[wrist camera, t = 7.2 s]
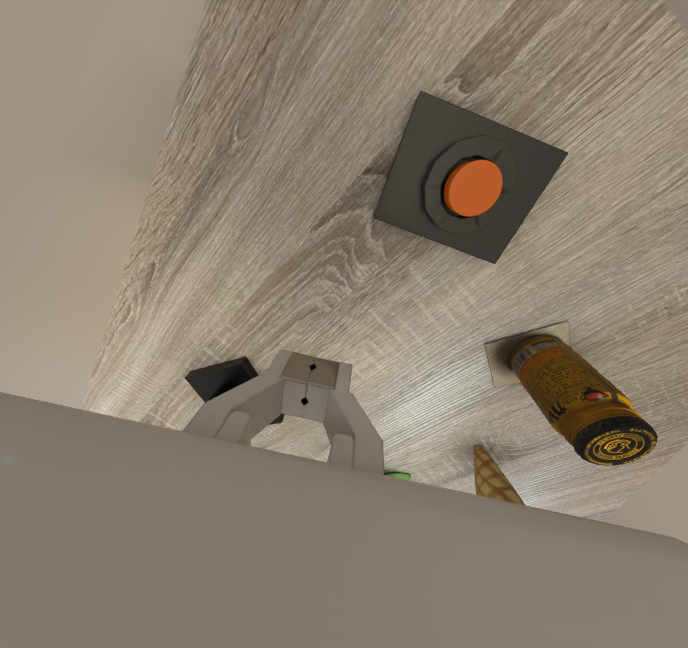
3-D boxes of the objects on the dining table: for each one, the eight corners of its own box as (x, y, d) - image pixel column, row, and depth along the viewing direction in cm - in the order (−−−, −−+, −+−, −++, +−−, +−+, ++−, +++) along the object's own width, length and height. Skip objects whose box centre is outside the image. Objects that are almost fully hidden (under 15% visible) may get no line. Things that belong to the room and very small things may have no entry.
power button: (434, 204, 20) (439, 206, 19) (459, 153, 19) (466, 151, 17) (475, 220, 21) (483, 223, 19) (503, 171, 19) (514, 170, 17)
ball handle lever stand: (190, 371, 38) (113, 450, 27) (245, 356, 35) (186, 437, 24) (233, 424, 43) (183, 509, 32) (284, 415, 40) (249, 504, 29)
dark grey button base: (373, 214, 25) (373, 220, 21) (416, 98, 20) (424, 82, 17) (486, 257, 25) (503, 270, 22) (551, 155, 21) (585, 150, 17)
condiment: (570, 369, 31) (669, 467, 20) (494, 386, 33) (547, 481, 23) (567, 320, 28) (680, 404, 17) (483, 342, 30) (539, 429, 20)
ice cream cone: (449, 457, 41) (482, 586, 28) (458, 431, 38) (500, 562, 25) (493, 462, 40) (547, 596, 27) (505, 436, 37) (573, 573, 24)
